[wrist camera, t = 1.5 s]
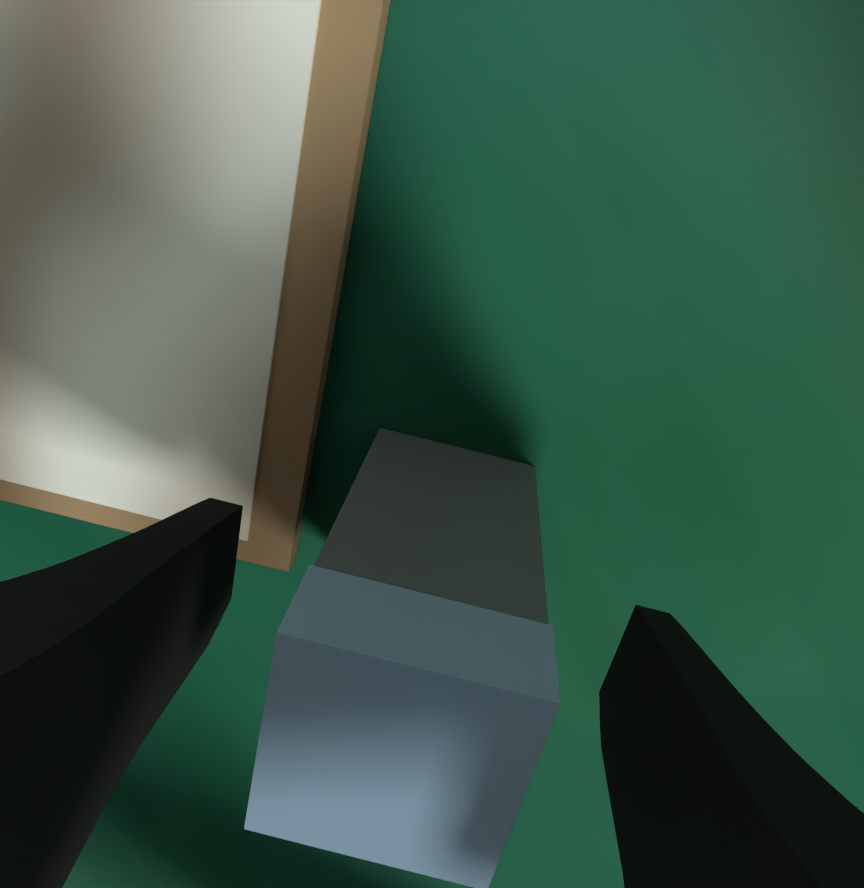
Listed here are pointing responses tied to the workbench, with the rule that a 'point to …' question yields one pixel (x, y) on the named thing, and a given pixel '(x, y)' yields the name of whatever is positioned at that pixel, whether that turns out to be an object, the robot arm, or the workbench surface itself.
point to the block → (413, 668)
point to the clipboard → (175, 251)
